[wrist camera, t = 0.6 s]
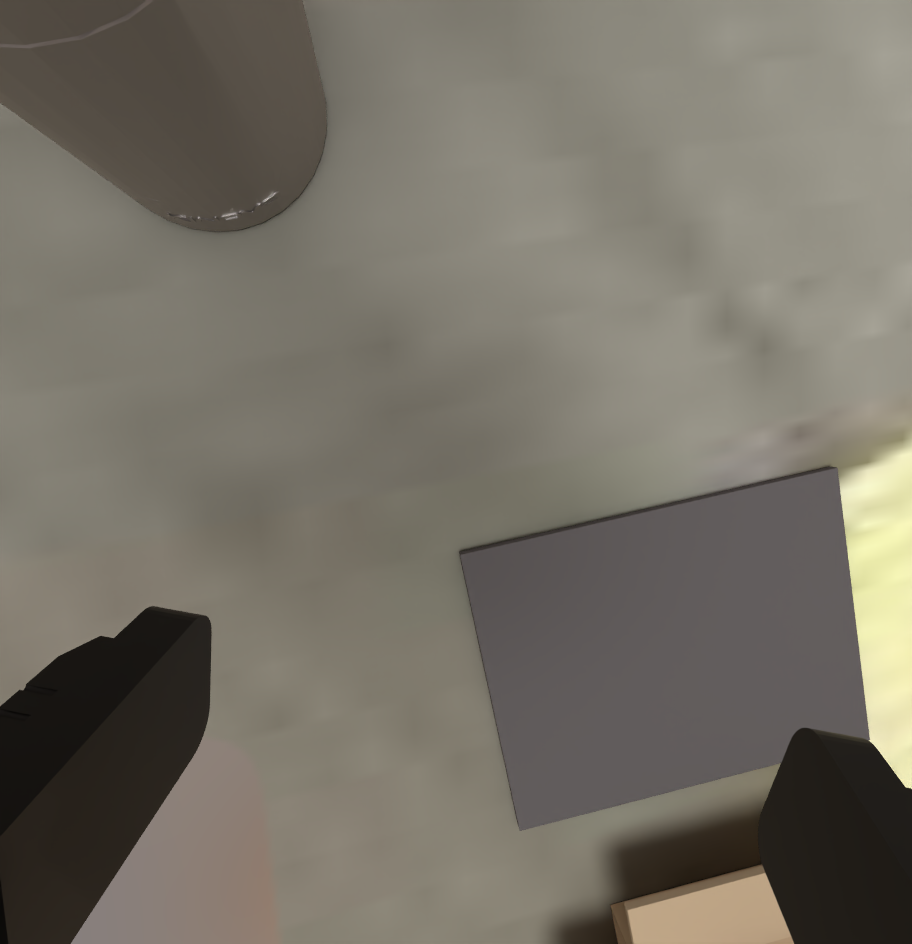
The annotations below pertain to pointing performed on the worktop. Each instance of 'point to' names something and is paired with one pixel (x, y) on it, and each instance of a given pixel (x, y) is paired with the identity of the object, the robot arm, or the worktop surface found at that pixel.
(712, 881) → the carton
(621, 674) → the mat
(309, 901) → the worktop surface
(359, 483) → the worktop surface
